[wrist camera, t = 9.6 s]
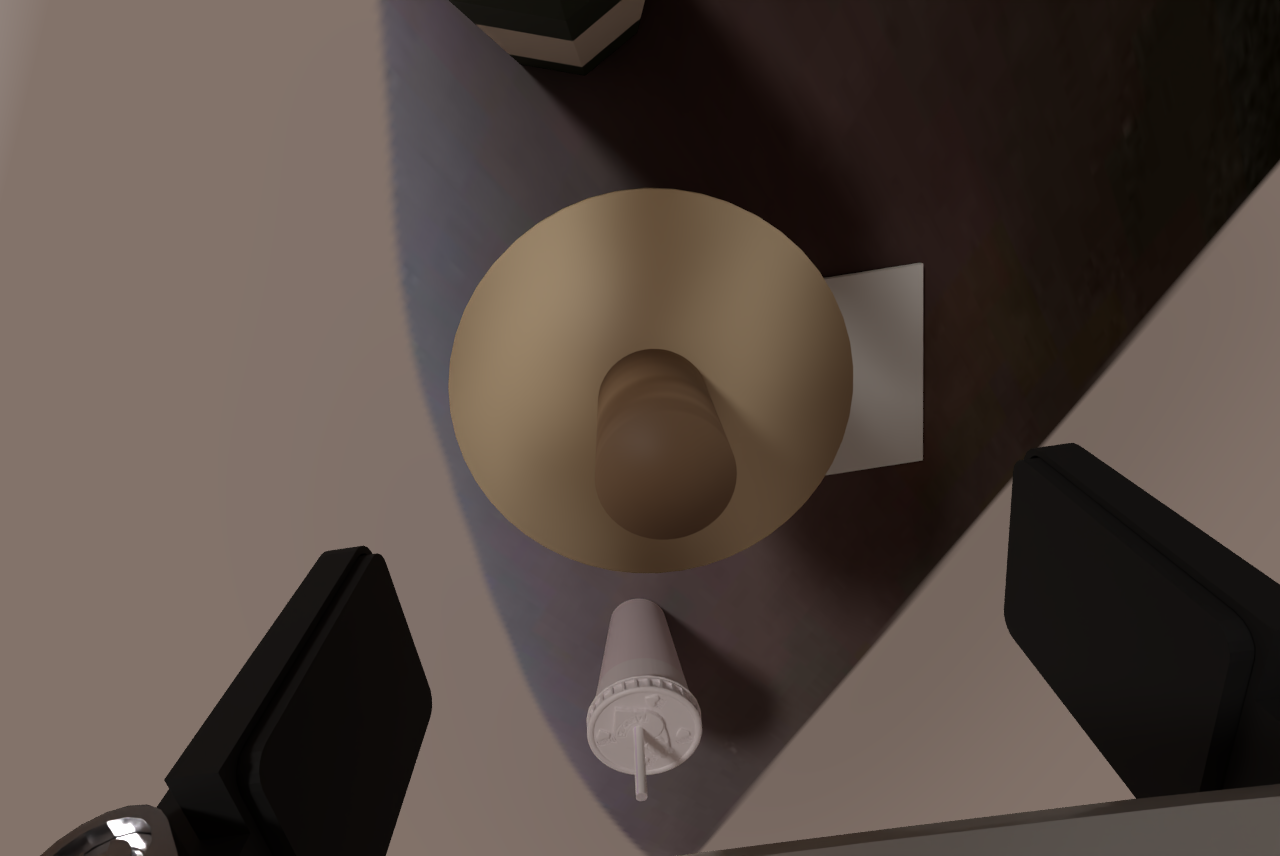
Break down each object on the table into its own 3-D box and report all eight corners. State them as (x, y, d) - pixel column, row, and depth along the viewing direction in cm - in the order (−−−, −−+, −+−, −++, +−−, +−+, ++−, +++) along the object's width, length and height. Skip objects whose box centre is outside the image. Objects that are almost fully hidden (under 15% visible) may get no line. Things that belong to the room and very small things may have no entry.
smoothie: (643, 563, 45) (656, 731, 32) (705, 623, 47) (741, 804, 34) (570, 619, 47) (555, 801, 34) (633, 675, 49) (642, 867, 36)
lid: (831, 152, 18) (921, 155, 13) (854, 526, 22) (929, 643, 17) (404, 229, 18) (324, 263, 13) (507, 584, 22) (476, 716, 17)
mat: (920, 262, 39) (923, 263, 38) (920, 457, 43) (922, 460, 43) (705, 296, 39) (706, 298, 39) (727, 487, 44) (728, 490, 43)
